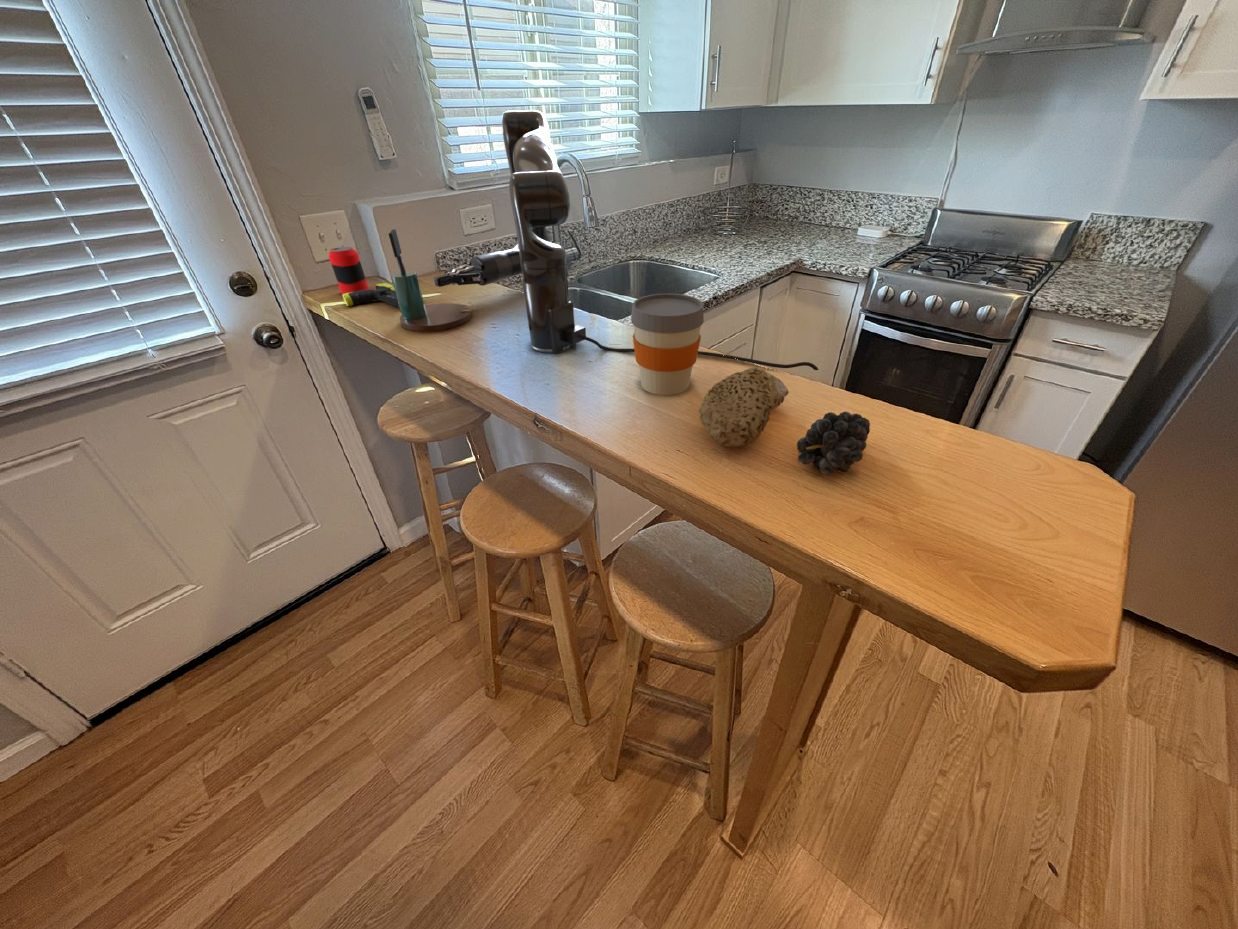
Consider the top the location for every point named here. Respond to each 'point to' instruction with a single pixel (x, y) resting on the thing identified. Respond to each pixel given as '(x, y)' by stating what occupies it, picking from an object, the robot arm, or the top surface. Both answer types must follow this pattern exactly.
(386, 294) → the stun gun
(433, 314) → the teal post stand
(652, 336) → the reusable coffee cup
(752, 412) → the sponge
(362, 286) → the soda can
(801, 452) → the fruit
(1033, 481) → the top surface
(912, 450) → the top surface
